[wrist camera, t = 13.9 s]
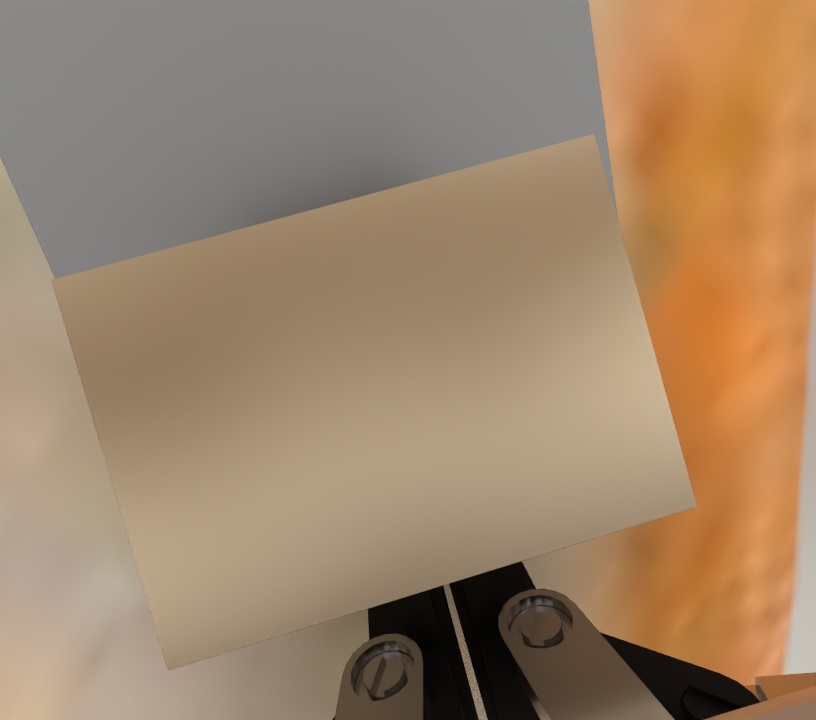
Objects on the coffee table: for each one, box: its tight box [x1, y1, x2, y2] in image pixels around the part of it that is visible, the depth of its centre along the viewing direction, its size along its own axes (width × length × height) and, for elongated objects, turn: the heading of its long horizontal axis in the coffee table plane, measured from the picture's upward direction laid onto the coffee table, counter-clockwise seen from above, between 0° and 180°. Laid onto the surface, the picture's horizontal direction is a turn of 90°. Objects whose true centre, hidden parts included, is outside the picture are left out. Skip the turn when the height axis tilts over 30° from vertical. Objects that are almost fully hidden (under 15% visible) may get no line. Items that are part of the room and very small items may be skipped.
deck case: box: [52, 134, 697, 670], centre depth 12 cm, size 5×7×11 cm
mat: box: [0, 0, 618, 279], centre depth 16 cm, size 20×19×1 cm
